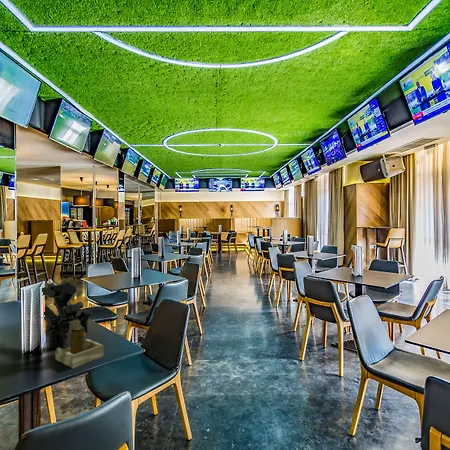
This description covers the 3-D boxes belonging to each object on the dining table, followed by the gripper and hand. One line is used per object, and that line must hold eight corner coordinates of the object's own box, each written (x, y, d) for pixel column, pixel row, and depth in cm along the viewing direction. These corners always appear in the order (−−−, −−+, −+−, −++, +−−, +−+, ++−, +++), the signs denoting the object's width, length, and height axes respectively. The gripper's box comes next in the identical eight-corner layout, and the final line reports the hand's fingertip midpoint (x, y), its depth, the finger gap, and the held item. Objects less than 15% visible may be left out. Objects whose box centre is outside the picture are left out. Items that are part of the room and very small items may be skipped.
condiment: (79, 350, 141) (78, 324, 141) (93, 353, 138) (92, 327, 138) (65, 357, 135) (65, 330, 134) (80, 360, 131) (79, 332, 131)
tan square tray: (55, 359, 135) (55, 347, 135) (85, 348, 146) (85, 338, 146) (72, 368, 126) (72, 356, 126) (103, 356, 138) (103, 345, 138)
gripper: (49, 301, 133) (62, 331, 126) (89, 292, 148) (103, 319, 142) (41, 315, 138) (53, 346, 131) (81, 306, 153) (93, 333, 146)
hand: (77, 335), depth 137 cm, fingers open, 9 cm apart
